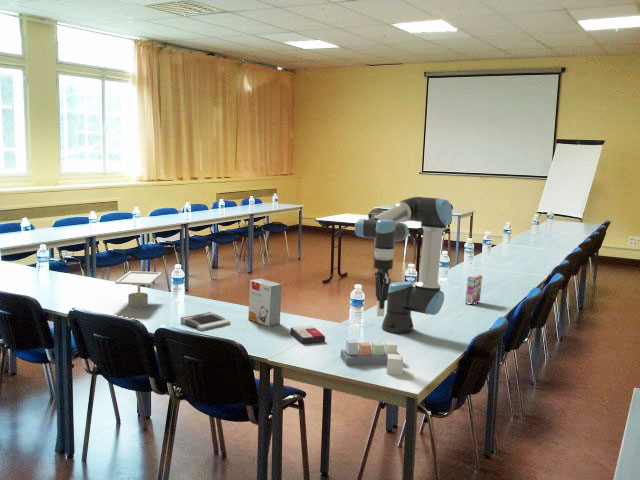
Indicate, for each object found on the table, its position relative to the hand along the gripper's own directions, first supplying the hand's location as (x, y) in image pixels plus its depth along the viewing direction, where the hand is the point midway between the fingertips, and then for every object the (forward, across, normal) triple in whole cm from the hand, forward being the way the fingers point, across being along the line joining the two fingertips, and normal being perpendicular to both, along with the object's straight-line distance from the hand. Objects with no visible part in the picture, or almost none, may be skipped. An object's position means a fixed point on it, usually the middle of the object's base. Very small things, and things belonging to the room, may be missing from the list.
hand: (380, 315), depth 244 cm
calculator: (+19, -30, -23) cm, 43 cm away
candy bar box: (+20, -91, +88) cm, 128 cm away
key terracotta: (+17, 0, -6) cm, 18 cm away
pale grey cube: (+19, +13, +3) cm, 23 cm away
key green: (+17, 0, 0) cm, 17 cm away
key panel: (+19, 0, -3) cm, 19 cm away
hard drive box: (+19, -58, -40) cm, 73 cm away
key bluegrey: (+15, 0, -11) cm, 19 cm away
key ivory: (+17, 0, +5) cm, 18 cm away
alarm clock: (+19, -56, -68) cm, 90 cm away
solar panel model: (+19, -92, -100) cm, 137 cm away
